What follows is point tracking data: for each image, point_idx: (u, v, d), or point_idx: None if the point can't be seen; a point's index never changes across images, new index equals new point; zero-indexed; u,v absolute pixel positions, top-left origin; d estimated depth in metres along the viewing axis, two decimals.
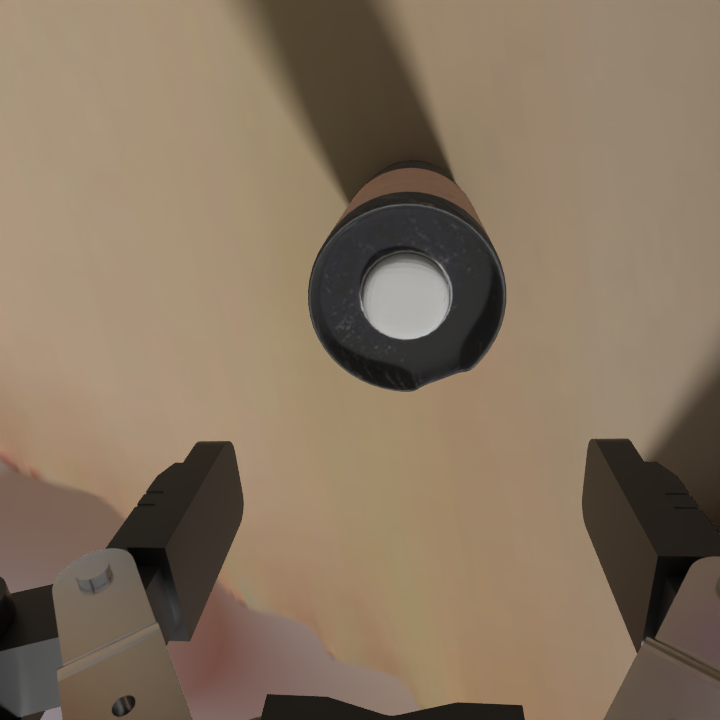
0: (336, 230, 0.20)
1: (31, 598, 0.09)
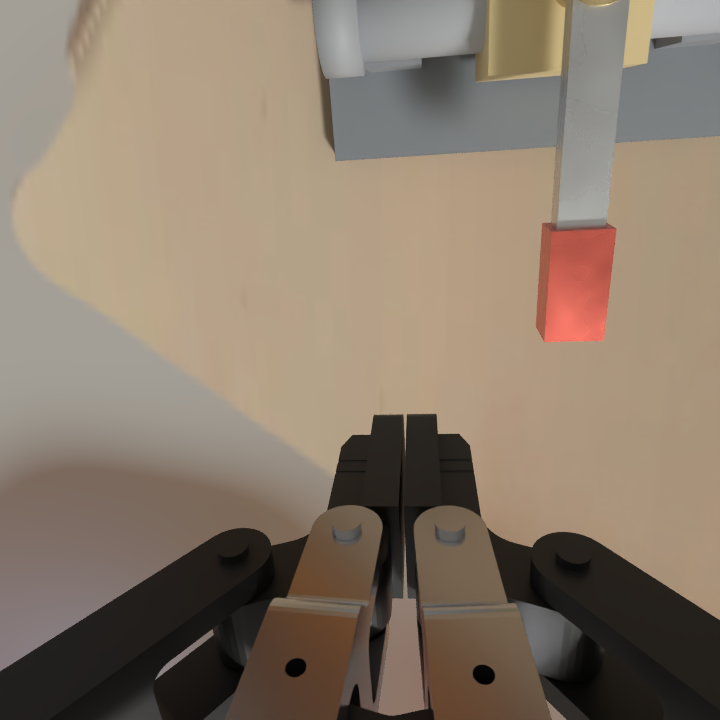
0: None
1: (279, 552, 0.10)
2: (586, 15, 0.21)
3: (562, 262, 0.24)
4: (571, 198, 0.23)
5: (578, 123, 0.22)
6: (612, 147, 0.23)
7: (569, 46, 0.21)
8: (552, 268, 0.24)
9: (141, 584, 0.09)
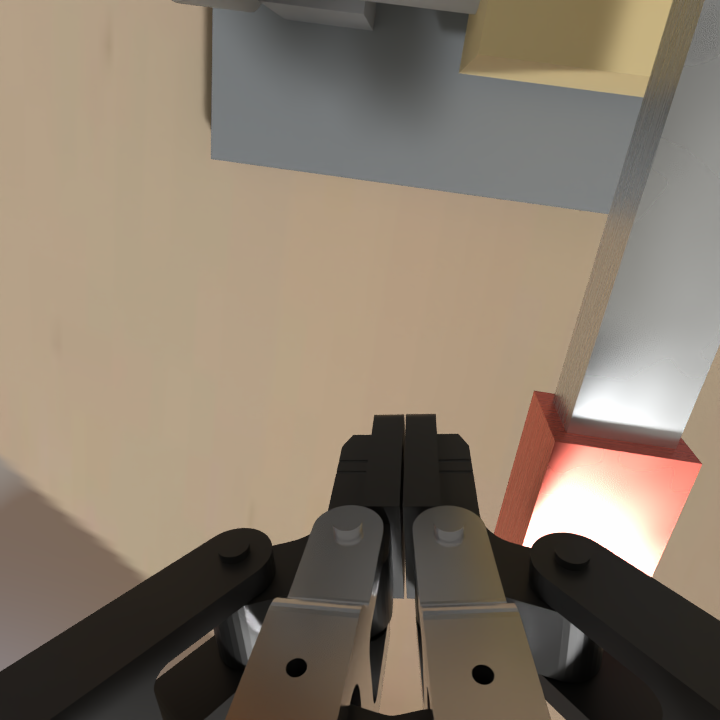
0: None
1: (280, 552, 0.10)
2: None
3: (564, 505, 0.11)
4: (612, 375, 0.10)
5: (674, 208, 0.09)
6: None
7: (699, 0, 0.08)
8: (540, 512, 0.11)
9: (142, 584, 0.09)
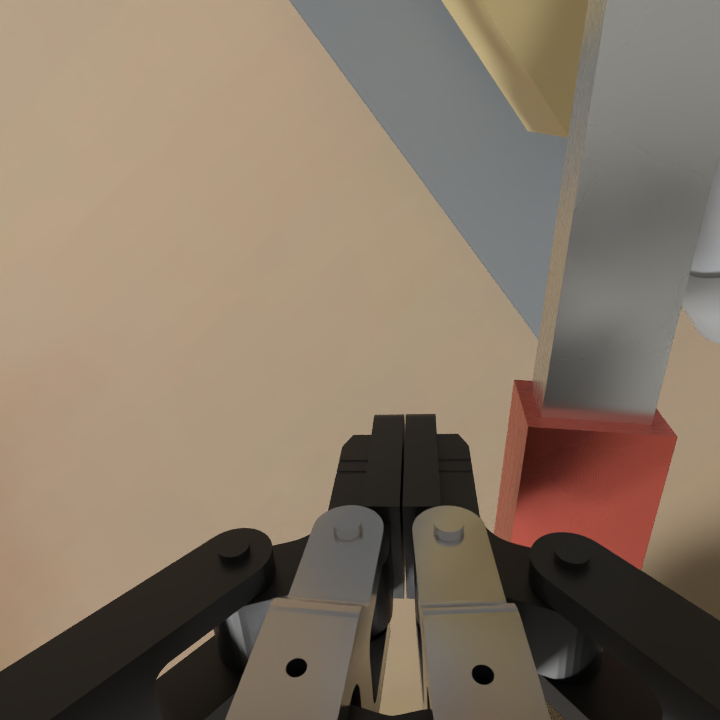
0: None
1: (280, 552, 0.10)
2: None
3: (547, 489, 0.11)
4: (578, 358, 0.10)
5: (611, 190, 0.09)
6: (689, 254, 0.09)
7: None
8: (524, 498, 0.11)
9: (142, 584, 0.09)
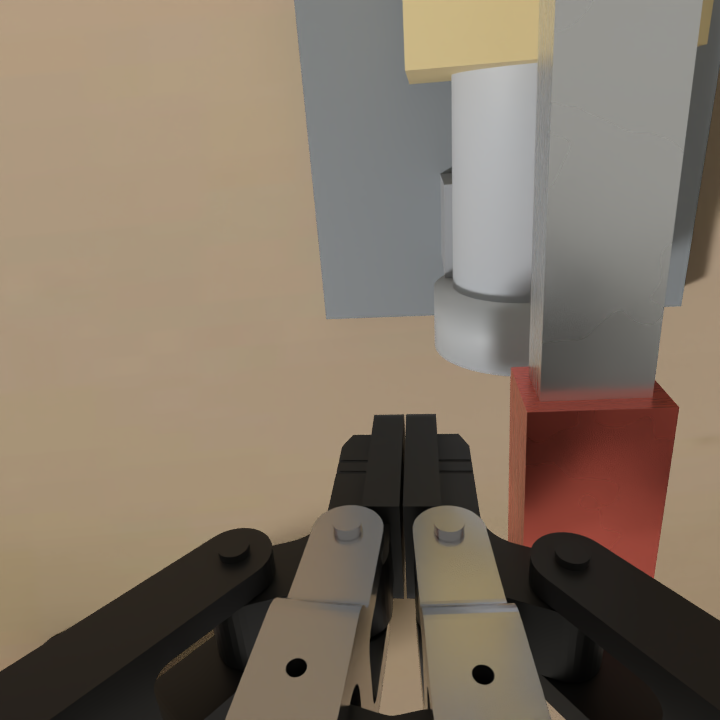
0: None
1: (280, 552, 0.10)
2: None
3: (554, 473, 0.11)
4: (569, 338, 0.10)
5: (583, 166, 0.09)
6: (669, 222, 0.09)
7: None
8: (532, 484, 0.11)
9: (142, 584, 0.09)
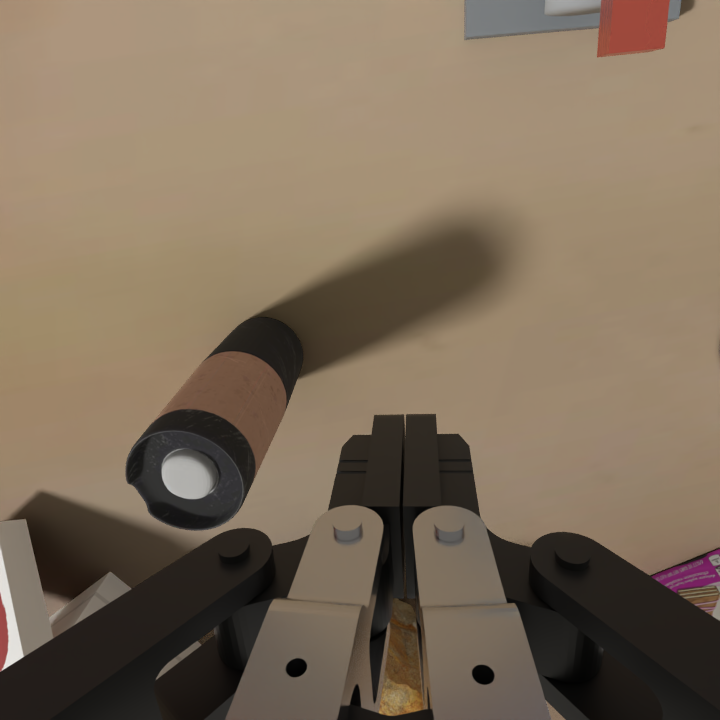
0: (223, 447, 0.33)
1: (279, 551, 0.10)
2: None
3: None
4: None
5: None
6: None
7: None
8: None
9: (142, 584, 0.09)
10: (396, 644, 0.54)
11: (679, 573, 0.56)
